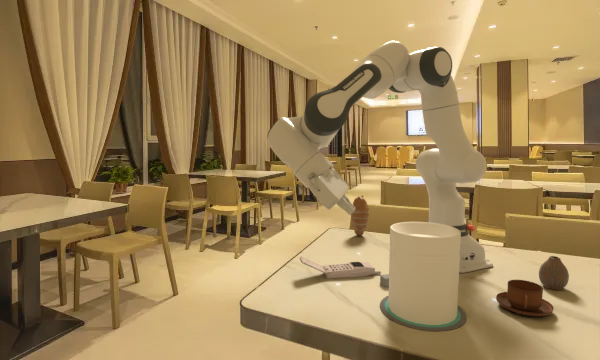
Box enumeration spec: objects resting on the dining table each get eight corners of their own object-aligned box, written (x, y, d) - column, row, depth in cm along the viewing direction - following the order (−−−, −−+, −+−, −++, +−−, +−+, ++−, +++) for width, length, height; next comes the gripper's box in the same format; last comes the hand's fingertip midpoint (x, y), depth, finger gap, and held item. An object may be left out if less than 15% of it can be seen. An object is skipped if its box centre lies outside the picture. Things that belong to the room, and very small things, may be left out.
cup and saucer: (564, 323, 81) (566, 297, 80) (507, 319, 83) (508, 293, 82) (537, 300, 93) (539, 277, 92) (488, 297, 95) (489, 274, 94)
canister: (395, 290, 98) (397, 219, 96) (458, 302, 91) (462, 225, 89) (381, 315, 84) (383, 232, 82) (455, 331, 77) (459, 241, 74)
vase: (559, 294, 96) (561, 262, 95) (532, 285, 102) (534, 255, 101) (572, 289, 99) (575, 258, 98) (546, 280, 105) (548, 252, 104)
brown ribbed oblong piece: (364, 239, 152) (365, 197, 150) (347, 236, 156) (347, 196, 154) (371, 234, 159) (372, 195, 157) (354, 232, 163) (355, 193, 161)
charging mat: (416, 279, 107) (416, 271, 107) (486, 324, 80) (486, 314, 80) (354, 285, 102) (354, 277, 102) (406, 336, 75) (407, 325, 75)
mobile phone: (298, 256, 111) (374, 251, 115) (299, 274, 112) (374, 269, 116) (302, 262, 105) (382, 257, 109) (302, 282, 106) (381, 276, 110)
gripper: (315, 167, 79) (358, 212, 78) (331, 160, 99) (365, 196, 98) (295, 185, 81) (337, 230, 80) (315, 175, 100) (348, 211, 99)
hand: (353, 212), depth 89 cm, fingers closed
